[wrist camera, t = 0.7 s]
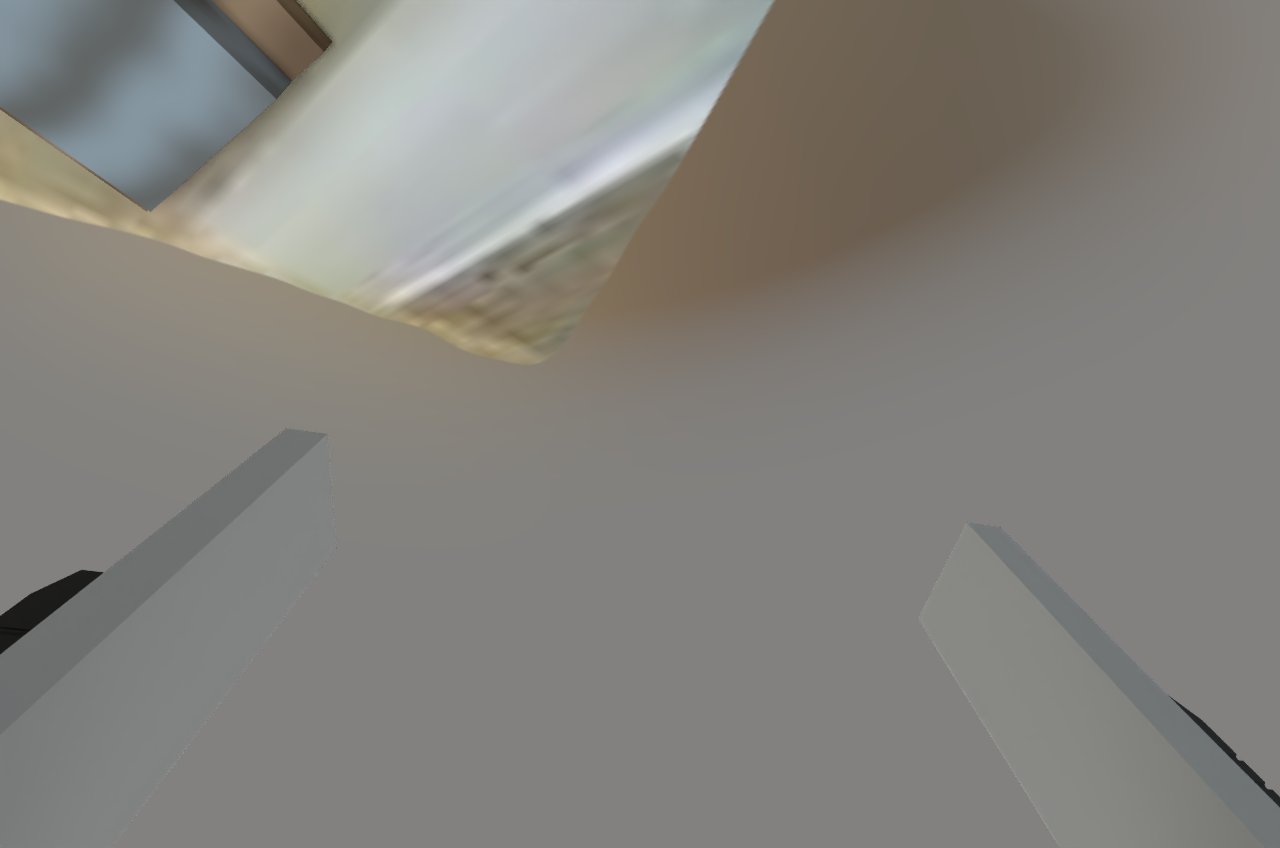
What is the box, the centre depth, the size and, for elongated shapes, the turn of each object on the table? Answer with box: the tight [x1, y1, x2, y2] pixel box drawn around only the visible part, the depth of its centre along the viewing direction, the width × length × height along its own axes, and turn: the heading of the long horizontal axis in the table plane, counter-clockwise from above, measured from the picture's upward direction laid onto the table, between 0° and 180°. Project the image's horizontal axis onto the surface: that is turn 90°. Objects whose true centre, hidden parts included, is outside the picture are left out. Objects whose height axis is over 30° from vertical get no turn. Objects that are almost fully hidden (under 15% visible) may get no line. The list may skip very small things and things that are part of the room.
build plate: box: [0, 0, 332, 212], centre depth 32 cm, size 14×20×4 cm
